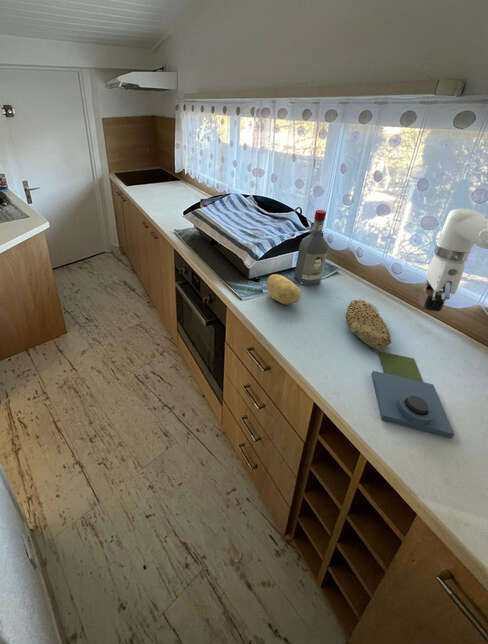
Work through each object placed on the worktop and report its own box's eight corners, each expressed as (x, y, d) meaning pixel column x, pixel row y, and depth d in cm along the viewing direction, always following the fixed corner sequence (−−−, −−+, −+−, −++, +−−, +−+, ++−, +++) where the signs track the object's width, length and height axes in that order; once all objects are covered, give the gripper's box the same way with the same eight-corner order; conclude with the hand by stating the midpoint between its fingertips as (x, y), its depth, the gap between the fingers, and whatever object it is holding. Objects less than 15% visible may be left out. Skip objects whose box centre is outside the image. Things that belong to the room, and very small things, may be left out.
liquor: (291, 275, 131) (303, 208, 117) (310, 272, 132) (324, 206, 118) (302, 286, 123) (316, 216, 109) (323, 284, 124) (339, 214, 110)
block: (435, 302, 96) (440, 290, 94) (440, 311, 92) (446, 298, 90) (418, 300, 98) (422, 288, 95) (422, 308, 94) (427, 296, 92)
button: (422, 402, 73) (425, 398, 72) (428, 417, 70) (431, 412, 69) (403, 398, 74) (406, 393, 73) (408, 412, 71) (410, 407, 70)
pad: (413, 359, 89) (413, 358, 89) (423, 384, 81) (423, 382, 81) (378, 352, 92) (379, 351, 91) (384, 375, 84) (385, 374, 84)
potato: (273, 312, 109) (276, 289, 104) (263, 289, 122) (266, 268, 117) (301, 311, 109) (305, 289, 104) (289, 288, 122) (292, 268, 117)
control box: (430, 388, 80) (435, 379, 79) (451, 439, 68) (458, 429, 67) (371, 374, 84) (374, 365, 83) (381, 419, 73) (385, 410, 71)
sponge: (342, 311, 111) (339, 336, 94) (352, 293, 108) (351, 315, 91) (381, 329, 106) (385, 358, 89) (393, 310, 103) (399, 337, 86)
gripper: (481, 268, 78) (455, 324, 87) (455, 242, 93) (434, 292, 101) (446, 264, 81) (423, 319, 89) (425, 239, 95) (407, 288, 103)
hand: (429, 304), depth 95 cm, fingers closed on block, 4 cm apart
